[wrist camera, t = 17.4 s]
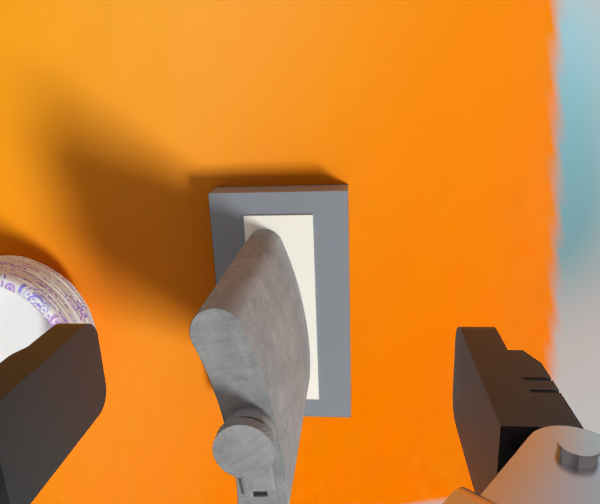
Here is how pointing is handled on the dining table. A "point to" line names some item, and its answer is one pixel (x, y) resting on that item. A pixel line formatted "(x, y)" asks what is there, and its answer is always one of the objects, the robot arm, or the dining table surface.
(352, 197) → the dining table surface
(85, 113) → the dining table surface
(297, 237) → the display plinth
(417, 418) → the dining table surface
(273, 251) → the hip flask
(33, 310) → the paper bowls
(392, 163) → the dining table surface
